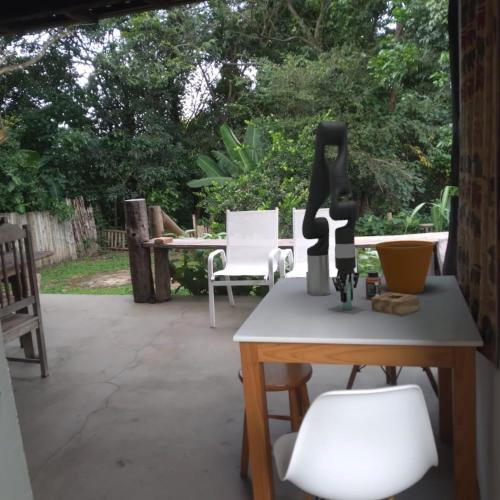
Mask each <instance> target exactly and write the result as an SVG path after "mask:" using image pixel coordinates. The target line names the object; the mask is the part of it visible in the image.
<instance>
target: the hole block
mask: <svg viewBox="0 0 500 500" xmlns="http://www.w3.org/2000/svg"><path fill="white" fill-rule="evenodd" d="M370 301H371V311H373V312H379V313H385V314H391V315H395V316H400V317H404V316H407V315H409V314H411V313H414V312H416V311H419V310H420V296H419V295H416V294H415V295H414V294H410V293H396V292H391V291H389V292H386V293H381V295H379V296H376V297H373V298H371V300H370Z"/></svg>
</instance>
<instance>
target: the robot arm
mask: <svg viewBox="0 0 500 500" xmlns="http://www.w3.org/2000/svg"><path fill="white" fill-rule="evenodd" d="M347 128H348V127H347V125H346V122H344V121H341V120H321V121H319V122H318V124H317V127H316V130H315V131H316V132H315V140H314V156H313V164H312V169H311V174H310V179H309V187H308V188H309V189H308V195H307V203H306V208H305V211H304V216H303V220H302V223H301V224H302V225H301V233H302V234H301V235H302V236H303V239H305V240H317V241H316V243H314V244H313V245H311V246H309V247H307V249H306V261H307V271H306V272H305V274H306V276H305V277H306V293H307V295H311V296H316V297H317V296H318V297H319V296H320V297H321V296H328V295H329V294H331V284H330V283H331V281H330V280H331V279H332V282H333V286H334V288H335V291H336V292H339V293H340V301H341V303H342V304H343V303H346V302H347V293H346V290H347V286H348V282H350V284H351V302H352V301H353V300H354V289H356V288H357V286H358V282H359V278H360V272H356V271H355V269H356V267H357V255H356V254H357V252H356V245H355V241H356V240H355V228H356V224H357V220H358V215H359V211H360V210H359V209H360V208H359V205H358V203H357V202H356V201H355V200H340V201H339V199H342V198H344V197H347V196H349V195H350V193H351V183H350V177H349V170H348V153H349V150H348V146H349V144H348V142H349V141H348V129H347ZM327 146H329V147H330V146H331V147H333V146H334V147H336V146H337V155H336V158H335V160H334V161H333V164H332V166H330V164H329V163H328V161H327V157H326V151H325V149H326V147H327ZM329 198H330V202H329V203H330V204H329V209H328V216H329V218H330V219H331V220H332V221H334V222H335V221H336V222H338V221H339V222H341V221H347V222H346V223H345V225H342V226H338V227H336V228H335V229H334V266H335V269H336V270H337V273H336V276H335V277H331V279H330V275H331V274H330V258H329V255H330V254H329V253H330V252H329V249H330V224H329V220H328V218H327V217H325V216H318V217H316V216H317V214H318V212H319V211H320V209H321V207H322V206H323V205H324V204H325V203H326V201H327V200H328V199H329ZM342 283H345V284H342ZM342 286H343V287H344V289H343V288H342Z"/></svg>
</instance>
